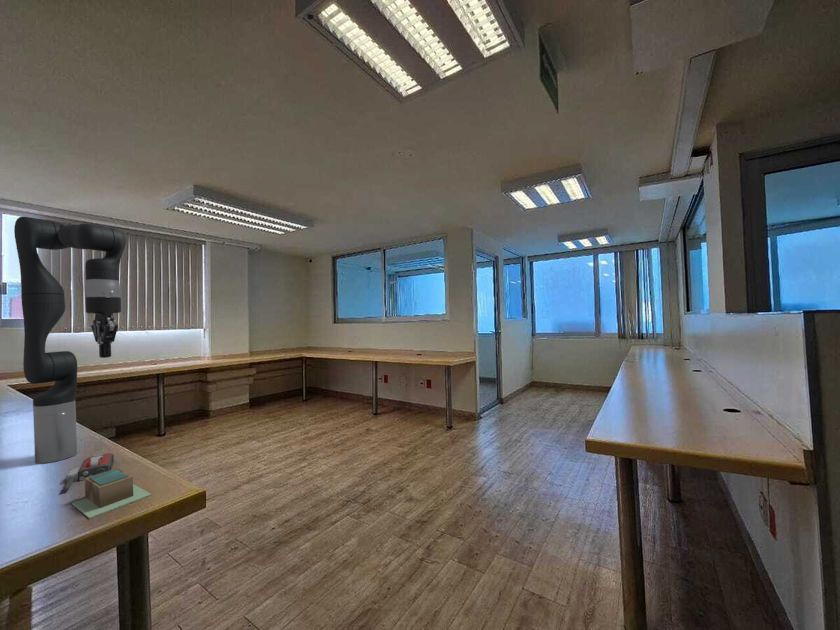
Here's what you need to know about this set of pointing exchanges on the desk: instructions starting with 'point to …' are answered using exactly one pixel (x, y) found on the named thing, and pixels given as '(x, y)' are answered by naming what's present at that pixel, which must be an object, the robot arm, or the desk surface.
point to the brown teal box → (108, 487)
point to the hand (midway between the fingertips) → (105, 357)
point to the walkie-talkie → (90, 468)
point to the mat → (92, 510)
